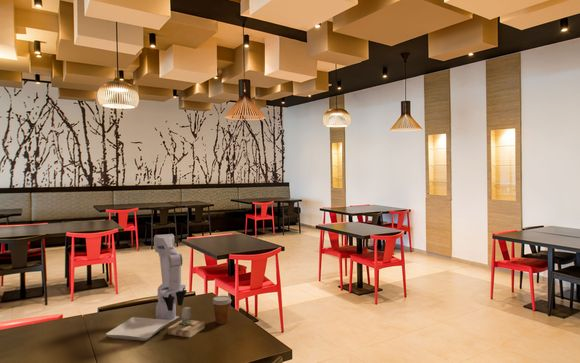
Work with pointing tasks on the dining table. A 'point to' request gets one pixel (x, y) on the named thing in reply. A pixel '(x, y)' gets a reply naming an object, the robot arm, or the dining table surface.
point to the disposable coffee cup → (221, 308)
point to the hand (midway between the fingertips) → (175, 307)
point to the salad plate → (138, 328)
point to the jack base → (186, 328)
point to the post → (186, 315)
